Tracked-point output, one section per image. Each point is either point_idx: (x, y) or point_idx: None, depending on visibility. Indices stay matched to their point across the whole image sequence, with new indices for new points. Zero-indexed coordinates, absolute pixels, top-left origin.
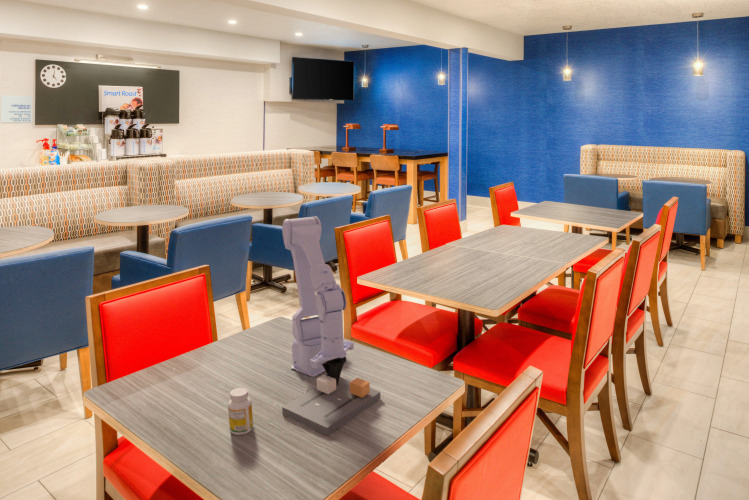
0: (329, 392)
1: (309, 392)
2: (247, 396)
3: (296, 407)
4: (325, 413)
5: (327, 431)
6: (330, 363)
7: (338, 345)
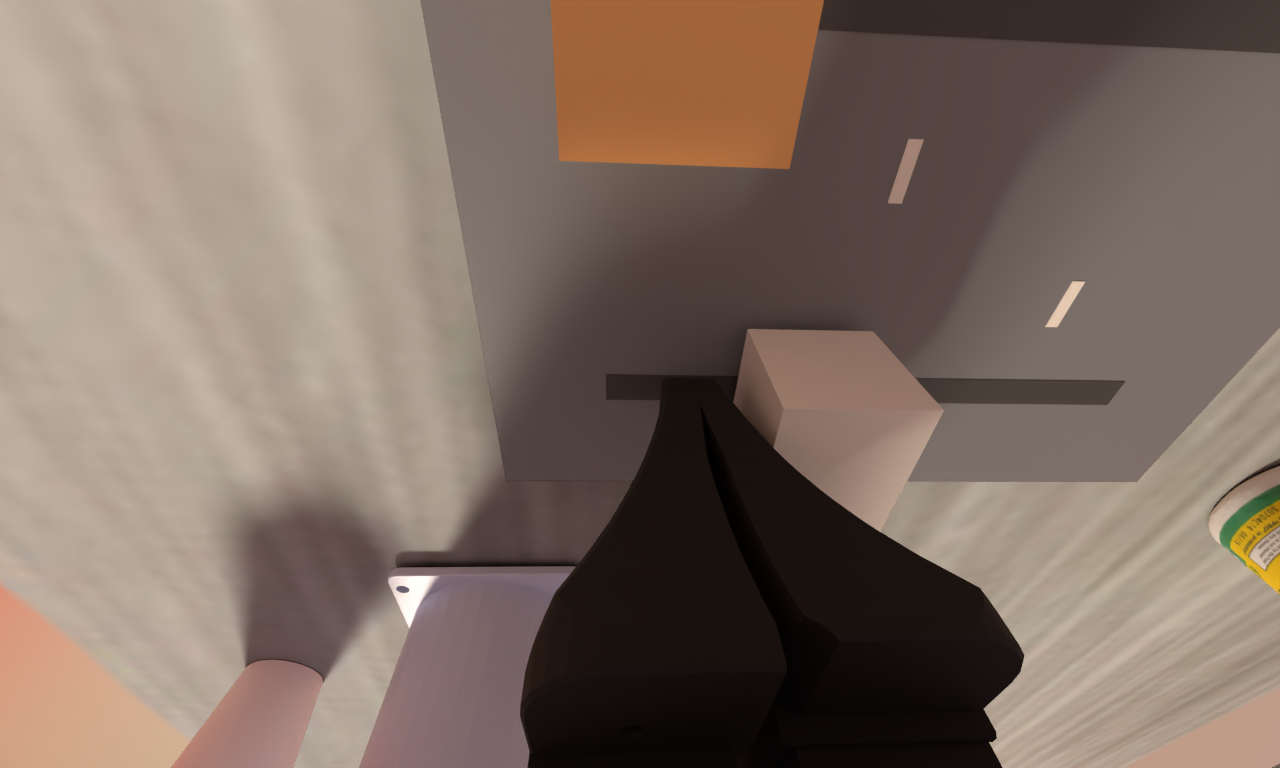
0: (861, 337)
1: None
2: None
3: (1139, 407)
4: None
5: None
6: (960, 708)
7: None
